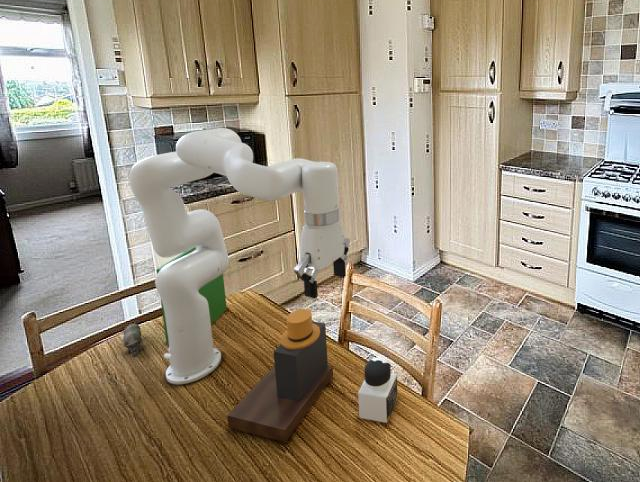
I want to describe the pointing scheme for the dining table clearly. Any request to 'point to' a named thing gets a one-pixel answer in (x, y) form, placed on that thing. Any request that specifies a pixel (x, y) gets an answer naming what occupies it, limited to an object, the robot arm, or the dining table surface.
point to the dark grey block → (300, 366)
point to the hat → (300, 330)
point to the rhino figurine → (132, 339)
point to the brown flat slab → (274, 408)
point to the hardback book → (205, 294)
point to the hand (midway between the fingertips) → (326, 285)
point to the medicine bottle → (378, 391)
